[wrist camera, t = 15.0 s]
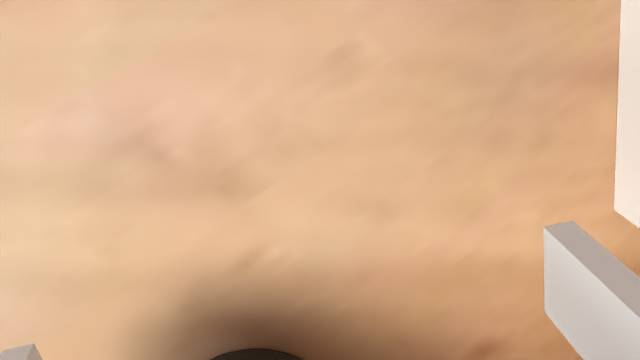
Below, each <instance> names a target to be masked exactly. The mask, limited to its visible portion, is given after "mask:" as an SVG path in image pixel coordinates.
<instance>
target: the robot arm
mask: <svg viewBox="0 0 640 360" xmlns="http://www.w3.org/2000/svg"><path fill="white" fill-rule="evenodd" d="M544 297H545V313H546V314H547V316H548V317H549V318H550V319H551V321H552V322H553V323H554V324H555V325H556V327H557V328H558V329H559V330H560V332H561V333H562V334H563V335H564V337H565V338H566V339H567V340H568V342H569V343H570V344H571V345H572V346H573V348H574V349H575V350H576V351H577V353H578V354H579V355H580V356H581V358H582V359H583V360H640V277H639V276H637V275H636V274H635V273H634V272H633V271H632V270H630V269H629V268H628V267H627V266H626V265H624V264H623V263H622V262H621V261H620V260H618V259H617V258H616V257H615V256H614V255H613V254H611V253H610V252H609V251H608V250H607V249H605V248H604V247H603V246H602V245H601V244H600V243H598V242H597V241H596V240H595V239H594V238H592V237H591V236H590V235H589V234H588V233H586V232H585V231H584V230H583V229H582V228H581V227H579V226H578V225H577V224H576V223H575V222H573V221H568V222H564V223H559V224H555V225H550V226H546V227H544ZM0 360H42V358H41V356H40V354H39V352H38V350H37V348H36V346H35V344H31V345H26V346H22V347H17V348H13V349H9V350H4V351H3V352H2V354H1V355H0ZM212 360H301V359H299V358H297V357H294V356H292V355H289V354H286V353H282V352H277V351H271V350H243V351H237V352H232V353H228V354H225V355H222V356H219V357H216V358H214V359H212Z"/></svg>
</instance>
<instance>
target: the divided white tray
mask: <svg viewBox="0 0 640 360" xmlns="http://www.w3.org/2000/svg"><path fill="white" fill-rule="evenodd" d="M614 210H615V211H616V212H618V213H619V214H620V215H622V216H623V217H624V218H626V219H627V220H629V221H630V222H631V223H633V224H634V225H635V226H637V227H638V228H640V0H621V16H620V46H619V77H618V107H617V137H616V168H615V198H614Z"/></svg>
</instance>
